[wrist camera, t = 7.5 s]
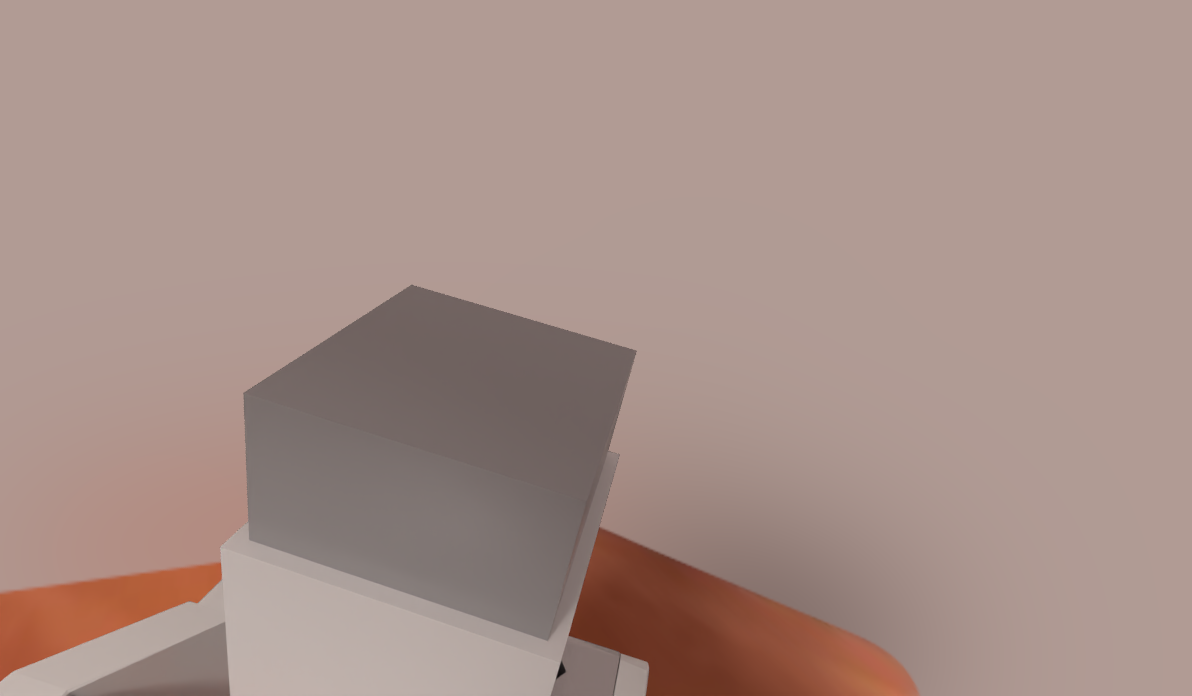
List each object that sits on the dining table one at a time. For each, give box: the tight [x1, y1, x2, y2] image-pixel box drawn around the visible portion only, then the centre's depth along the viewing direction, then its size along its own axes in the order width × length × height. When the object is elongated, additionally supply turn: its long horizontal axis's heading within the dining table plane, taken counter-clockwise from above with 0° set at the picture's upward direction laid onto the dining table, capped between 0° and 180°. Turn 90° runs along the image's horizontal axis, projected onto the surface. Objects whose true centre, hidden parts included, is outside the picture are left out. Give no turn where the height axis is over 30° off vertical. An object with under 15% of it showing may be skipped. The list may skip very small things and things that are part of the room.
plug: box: [220, 285, 636, 696], centre depth 11 cm, size 4×5×13 cm
